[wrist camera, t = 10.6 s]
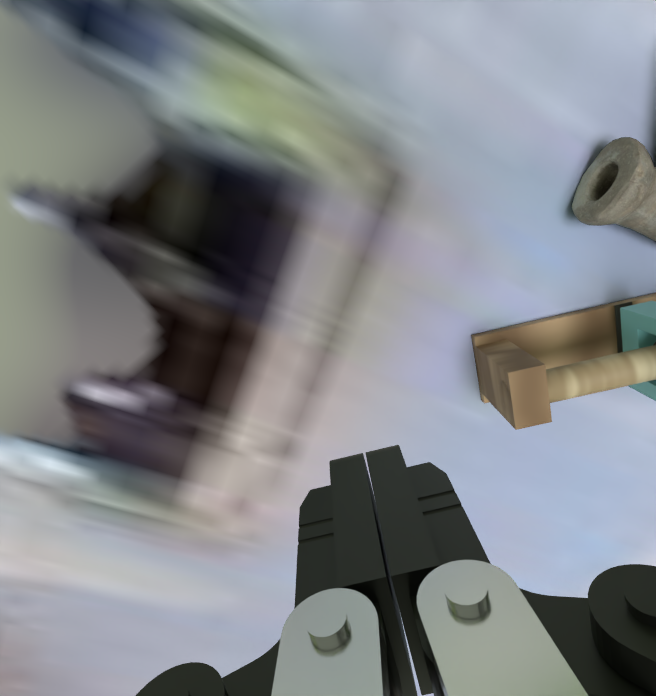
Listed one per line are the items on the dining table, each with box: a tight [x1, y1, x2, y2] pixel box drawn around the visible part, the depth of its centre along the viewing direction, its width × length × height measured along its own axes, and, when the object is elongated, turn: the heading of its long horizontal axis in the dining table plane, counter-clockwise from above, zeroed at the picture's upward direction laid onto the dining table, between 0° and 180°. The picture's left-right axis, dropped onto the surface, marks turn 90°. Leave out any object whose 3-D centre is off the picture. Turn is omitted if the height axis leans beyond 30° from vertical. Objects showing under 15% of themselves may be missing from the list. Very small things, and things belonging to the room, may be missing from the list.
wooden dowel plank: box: [471, 293, 656, 430], centre depth 37 cm, size 18×6×8 cm, turn 103°
